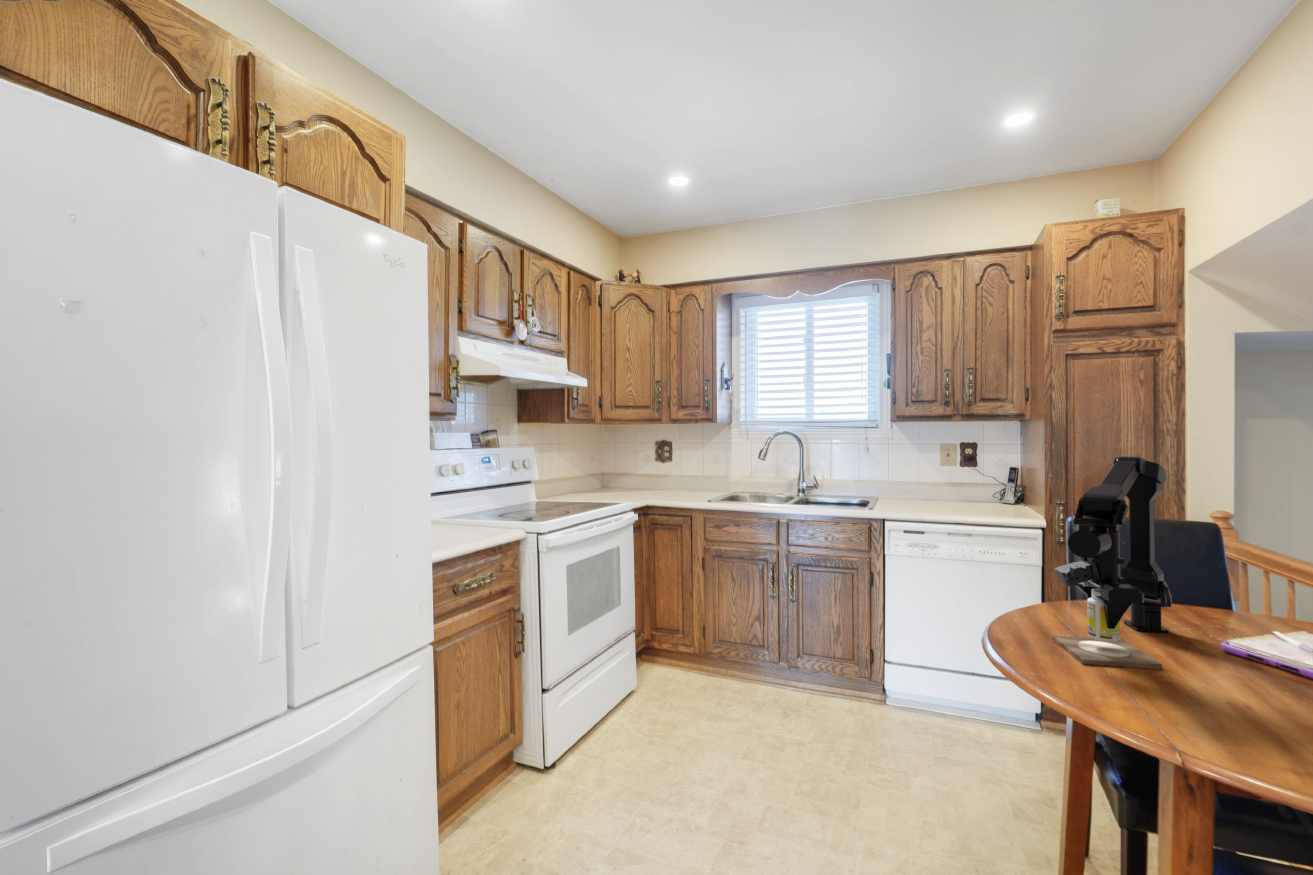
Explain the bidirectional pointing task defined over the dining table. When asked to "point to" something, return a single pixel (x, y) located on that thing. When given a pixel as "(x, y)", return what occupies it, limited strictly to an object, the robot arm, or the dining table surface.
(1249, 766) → the dining table surface
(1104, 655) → the board
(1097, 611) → the supplement bottle
